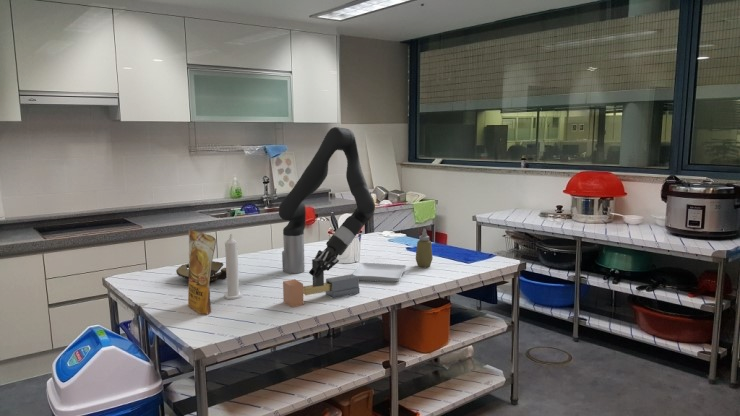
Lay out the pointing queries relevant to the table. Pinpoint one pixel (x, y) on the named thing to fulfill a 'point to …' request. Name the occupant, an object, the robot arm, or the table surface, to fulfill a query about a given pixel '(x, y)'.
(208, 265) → the pancake mix bag
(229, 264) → the candle
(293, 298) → the orange brown block
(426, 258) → the squeeze bottle
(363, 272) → the salad plate
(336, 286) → the sleeve
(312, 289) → the bolt
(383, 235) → the table surface
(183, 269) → the oil lamp
